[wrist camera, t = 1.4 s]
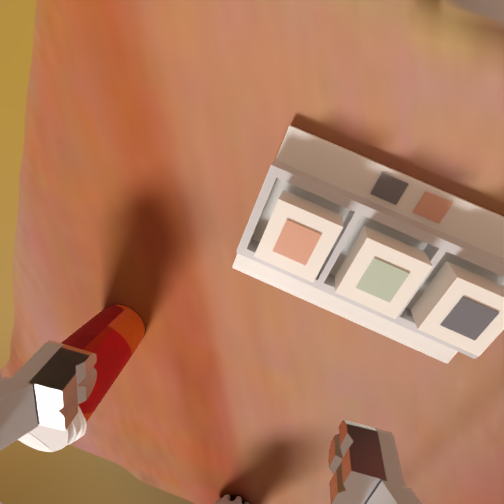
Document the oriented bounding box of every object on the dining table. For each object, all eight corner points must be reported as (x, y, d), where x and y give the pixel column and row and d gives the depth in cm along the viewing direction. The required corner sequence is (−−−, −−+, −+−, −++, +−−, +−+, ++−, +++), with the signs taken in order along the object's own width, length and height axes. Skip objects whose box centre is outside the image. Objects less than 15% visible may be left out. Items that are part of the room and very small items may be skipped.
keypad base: (548, 235, 30) (573, 251, 27) (444, 357, 37) (454, 381, 34) (290, 124, 31) (285, 127, 28) (234, 263, 38) (225, 278, 34)
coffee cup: (89, 334, 46) (-11, 431, 33) (99, 285, 43) (-9, 372, 29) (147, 361, 46) (70, 469, 33) (161, 313, 42) (82, 414, 29)
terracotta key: (342, 215, 30) (343, 227, 27) (314, 267, 33) (313, 283, 30) (283, 189, 30) (278, 199, 28) (260, 243, 33) (253, 257, 30)
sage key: (424, 251, 30) (433, 267, 27) (390, 300, 32) (395, 320, 30) (364, 224, 30) (367, 238, 27) (334, 276, 33) (334, 293, 30)
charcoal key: (507, 287, 30) (525, 307, 27) (466, 334, 32) (479, 357, 29) (446, 260, 30) (458, 277, 27) (410, 309, 32) (417, 330, 29)
